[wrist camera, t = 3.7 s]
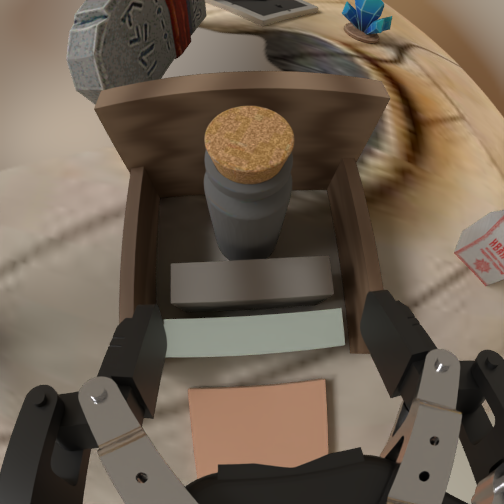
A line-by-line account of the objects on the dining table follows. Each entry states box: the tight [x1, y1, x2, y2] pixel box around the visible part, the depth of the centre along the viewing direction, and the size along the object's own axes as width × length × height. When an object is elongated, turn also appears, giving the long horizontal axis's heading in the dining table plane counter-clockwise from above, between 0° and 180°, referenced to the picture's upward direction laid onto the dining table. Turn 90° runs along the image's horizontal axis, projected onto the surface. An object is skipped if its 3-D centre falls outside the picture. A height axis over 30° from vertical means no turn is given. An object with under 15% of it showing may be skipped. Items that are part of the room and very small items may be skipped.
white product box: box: [454, 210, 504, 286], centre depth 24 cm, size 4×7×10 cm, turn 50°
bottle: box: [204, 106, 294, 261], centre depth 22 cm, size 6×6×15 cm
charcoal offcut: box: [171, 255, 334, 312], centre depth 24 cm, size 12×3×6 cm, turn 93°
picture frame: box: [205, 0, 318, 27], centre depth 45 cm, size 16×3×21 cm
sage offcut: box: [164, 308, 345, 357], centre depth 24 cm, size 14×3×4 cm, turn 94°
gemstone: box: [342, 0, 392, 43], centre depth 37 cm, size 7×9×12 cm
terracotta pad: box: [188, 378, 328, 479], centre depth 22 cm, size 12×12×1 cm
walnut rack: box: [94, 71, 390, 354], centre depth 21 cm, size 21×19×14 cm
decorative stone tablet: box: [67, 0, 206, 105], centre depth 29 cm, size 19×6×30 cm
